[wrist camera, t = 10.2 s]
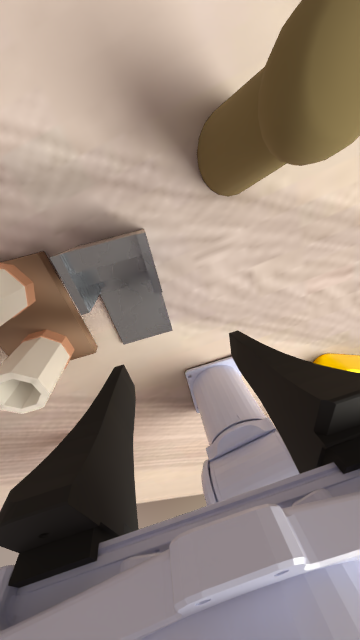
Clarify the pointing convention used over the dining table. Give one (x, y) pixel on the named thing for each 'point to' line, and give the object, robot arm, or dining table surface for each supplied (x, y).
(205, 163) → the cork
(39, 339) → the sleeve
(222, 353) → the dining table surface
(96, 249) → the grey metal bracket
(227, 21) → the dining table surface
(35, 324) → the pin board
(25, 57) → the dining table surface
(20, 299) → the sleeve
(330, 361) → the element tile
